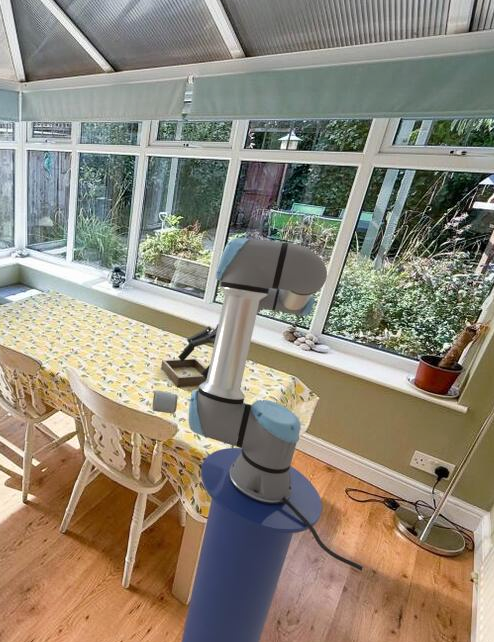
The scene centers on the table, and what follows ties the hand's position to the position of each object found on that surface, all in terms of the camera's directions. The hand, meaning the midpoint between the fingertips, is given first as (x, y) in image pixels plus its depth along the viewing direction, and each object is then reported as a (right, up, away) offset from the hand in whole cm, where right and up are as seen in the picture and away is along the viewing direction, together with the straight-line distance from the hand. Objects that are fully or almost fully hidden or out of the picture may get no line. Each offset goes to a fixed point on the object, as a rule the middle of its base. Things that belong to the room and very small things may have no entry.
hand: (191, 367), depth 150 cm
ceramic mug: (-10, -16, +2) cm, 19 cm away
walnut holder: (+6, -7, +25) cm, 26 cm away
